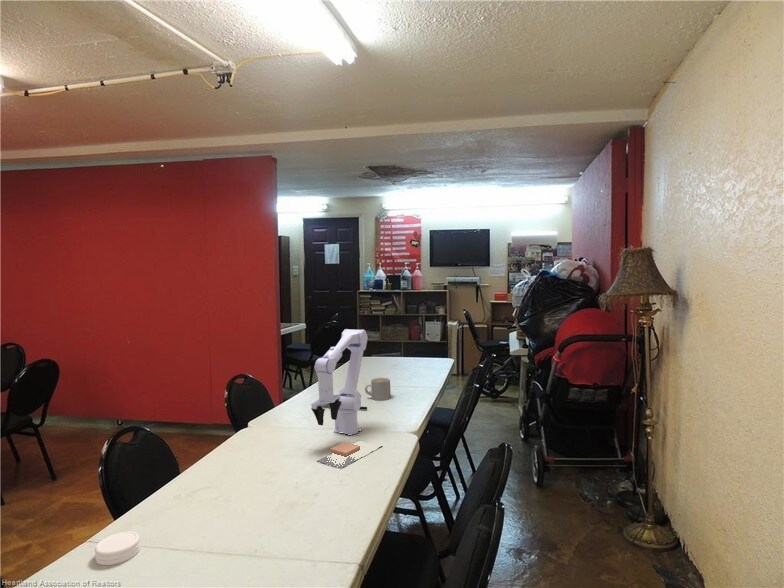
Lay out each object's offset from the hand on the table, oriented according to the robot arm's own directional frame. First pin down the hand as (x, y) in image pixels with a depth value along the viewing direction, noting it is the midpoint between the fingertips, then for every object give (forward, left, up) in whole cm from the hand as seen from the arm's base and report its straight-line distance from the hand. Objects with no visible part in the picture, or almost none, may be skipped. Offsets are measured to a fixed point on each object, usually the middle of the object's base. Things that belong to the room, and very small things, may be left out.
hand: (327, 422), depth 191 cm
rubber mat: (+14, -2, -9) cm, 17 cm away
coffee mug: (-24, +63, -10) cm, 68 cm away
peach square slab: (+7, -2, -8) cm, 11 cm away
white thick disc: (+5, -82, -10) cm, 83 cm away
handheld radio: (-28, +40, -10) cm, 50 cm away
